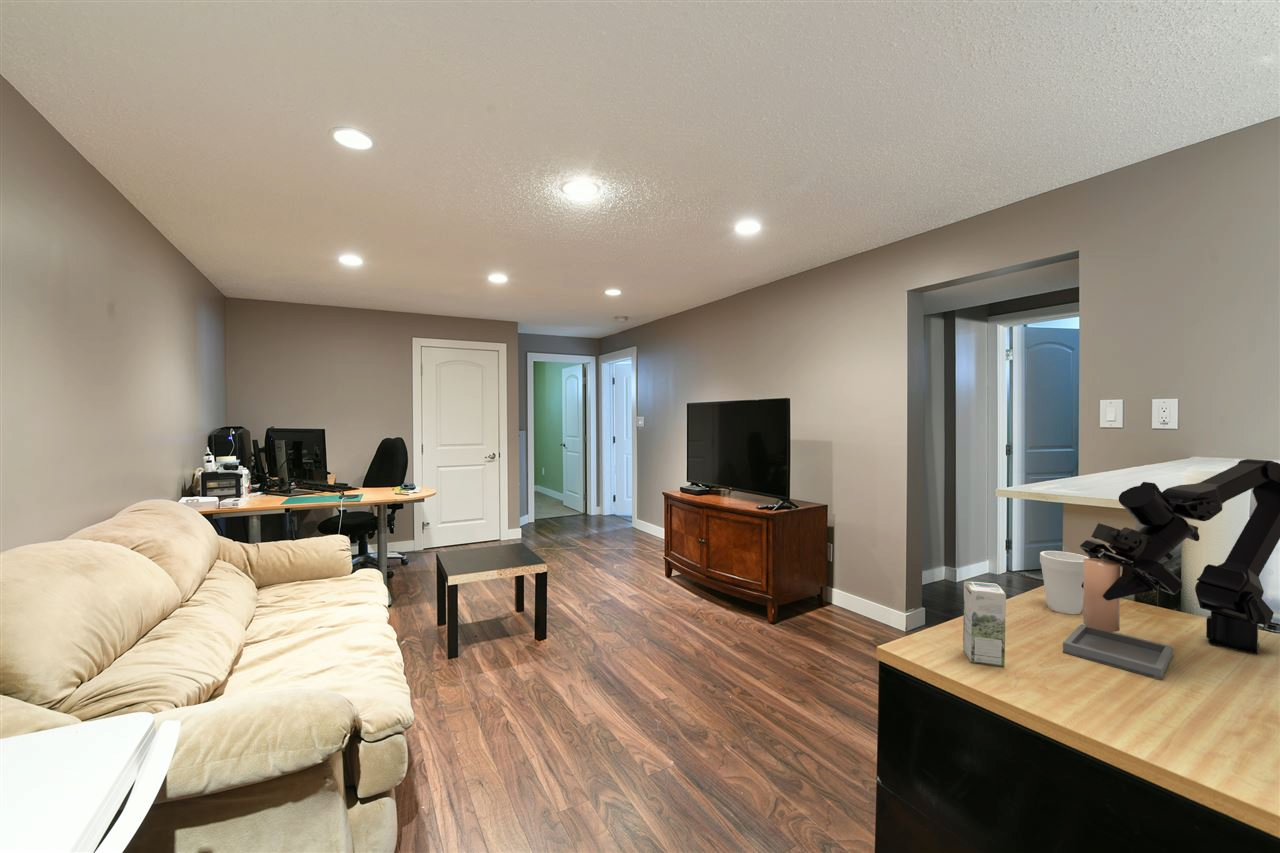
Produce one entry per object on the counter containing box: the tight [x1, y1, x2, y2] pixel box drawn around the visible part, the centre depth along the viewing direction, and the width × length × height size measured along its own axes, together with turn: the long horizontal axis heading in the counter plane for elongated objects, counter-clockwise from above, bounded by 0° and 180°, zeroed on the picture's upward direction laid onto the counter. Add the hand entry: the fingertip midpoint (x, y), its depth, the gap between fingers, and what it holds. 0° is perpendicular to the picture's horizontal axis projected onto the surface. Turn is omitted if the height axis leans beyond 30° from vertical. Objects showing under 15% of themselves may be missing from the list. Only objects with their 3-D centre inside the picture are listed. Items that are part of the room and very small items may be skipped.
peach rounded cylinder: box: [1082, 557, 1121, 633], centre depth 104 cm, size 6×6×13 cm
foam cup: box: [1039, 550, 1089, 615], centre depth 126 cm, size 10×9×13 cm
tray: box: [1062, 623, 1174, 681], centre depth 103 cm, size 14×14×2 cm
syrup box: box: [962, 580, 1007, 667], centre depth 101 cm, size 6×6×14 cm
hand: (1093, 593), depth 105 cm, fingers closed on peach rounded cylinder, 5 cm apart
